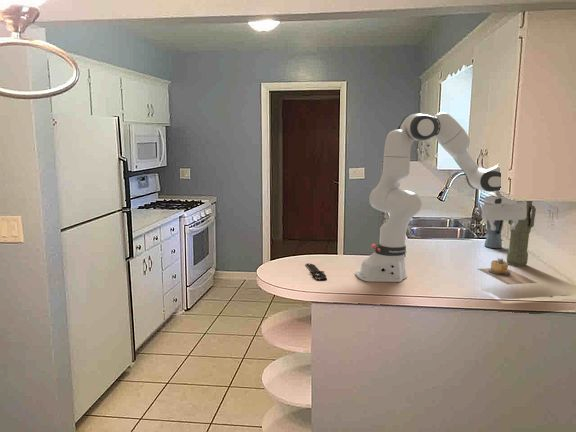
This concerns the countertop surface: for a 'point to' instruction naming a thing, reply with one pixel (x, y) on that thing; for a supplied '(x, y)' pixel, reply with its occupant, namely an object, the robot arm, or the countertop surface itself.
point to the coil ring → (499, 267)
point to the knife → (317, 272)
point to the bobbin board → (507, 276)
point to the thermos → (521, 238)
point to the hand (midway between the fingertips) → (502, 229)
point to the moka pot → (494, 235)
